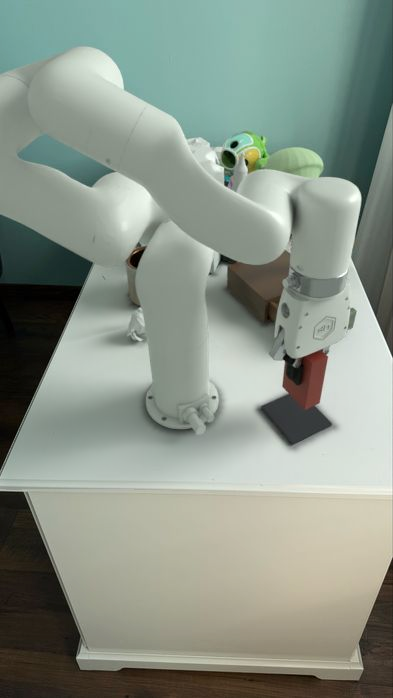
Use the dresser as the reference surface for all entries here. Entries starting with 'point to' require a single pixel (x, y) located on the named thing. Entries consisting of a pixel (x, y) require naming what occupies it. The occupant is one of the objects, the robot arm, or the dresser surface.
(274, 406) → the pad
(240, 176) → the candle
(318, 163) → the toy
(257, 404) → the dresser surface
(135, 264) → the planter
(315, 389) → the book
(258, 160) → the turtle holder
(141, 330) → the figurine
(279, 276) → the cabinet
